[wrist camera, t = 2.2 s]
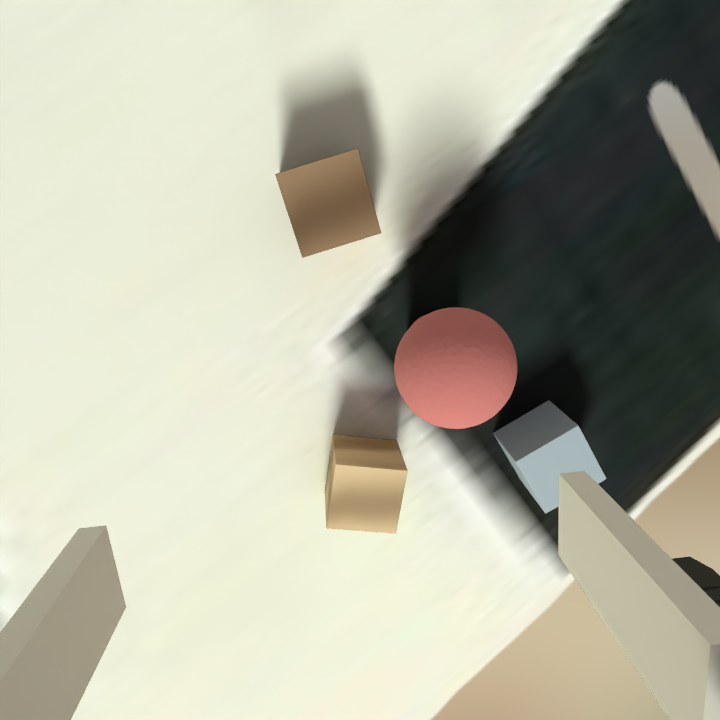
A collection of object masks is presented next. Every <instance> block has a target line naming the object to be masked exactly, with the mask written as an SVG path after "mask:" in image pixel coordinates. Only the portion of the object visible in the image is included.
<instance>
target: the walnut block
mask: <svg viewBox="0 0 720 720" xmlns="http://www.w3.org/2000/svg"><path fill="white" fill-rule="evenodd" d="M275 175H276V178H277V181H278V184H279V187H280V190H281V193H282V196H283V199H284V203H285V206H286V209H287V212H288V215H289V218H290V221H291V224H292V227H293V230H294V233H295V236H296V239H297V242H298V246H299V249H300V252H301V255H302V258H303V257H306V256H309V255H313V254H316V253H319V252H322V251H325V250H329V249H332V248H335V247H338V246H341V245H345V244H348V243H351V242H354V241H357V240H361V239H364V238H367V237H370V236H374V235H377V234H380V233H381V230H380V227H379V223H378V219H377V216H376V212H375V209H374V205H373V201H372V198H371V194H370V191H369V187H368V183H367V180H366V176H365V173H364V169H363V165H362V162H361V158H360V155H359V151H358V149H355V150H351V151H348V152H345V153H342V154H338V155H335V156H332V157H329V158H326V159H322V160H319V161H316V162H313V163H310V164H306V165H303V166H300V167H297V168H293V169H290V170H287V171H284V172H281V173H277V174H275Z"/></svg>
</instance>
